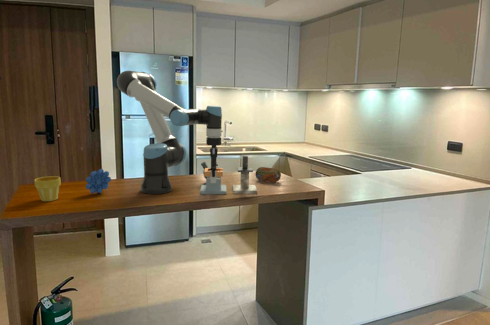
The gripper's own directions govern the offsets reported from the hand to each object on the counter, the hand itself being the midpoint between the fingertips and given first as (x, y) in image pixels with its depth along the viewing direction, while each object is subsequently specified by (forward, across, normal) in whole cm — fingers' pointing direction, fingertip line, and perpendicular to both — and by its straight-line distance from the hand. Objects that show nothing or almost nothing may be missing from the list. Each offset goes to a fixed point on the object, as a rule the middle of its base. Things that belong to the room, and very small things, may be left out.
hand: (213, 180), depth 182 cm
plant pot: (+6, -17, +74) cm, 76 cm away
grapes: (+6, -5, +56) cm, 56 cm away
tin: (+6, +22, -31) cm, 38 cm away
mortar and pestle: (+6, +18, +2) cm, 19 cm away
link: (-3, 0, 0) cm, 3 cm away
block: (+5, 0, 0) cm, 5 cm away
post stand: (+5, +1, -16) cm, 17 cm away
